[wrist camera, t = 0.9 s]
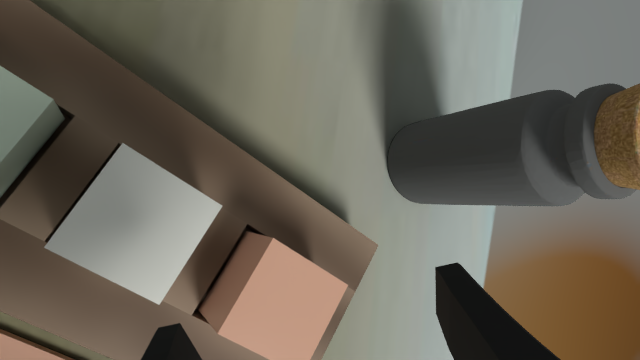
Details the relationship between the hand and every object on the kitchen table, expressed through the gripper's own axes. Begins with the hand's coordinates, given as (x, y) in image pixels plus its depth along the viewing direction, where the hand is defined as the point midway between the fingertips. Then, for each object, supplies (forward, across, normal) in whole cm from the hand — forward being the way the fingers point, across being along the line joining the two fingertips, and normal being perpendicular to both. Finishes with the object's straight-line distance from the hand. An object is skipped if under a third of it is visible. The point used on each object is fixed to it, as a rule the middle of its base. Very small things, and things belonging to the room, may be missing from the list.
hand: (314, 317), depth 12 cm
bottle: (+17, -8, +8) cm, 20 cm away
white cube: (+8, +8, +1) cm, 11 cm away
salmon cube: (+7, +3, +7) cm, 10 cm away
